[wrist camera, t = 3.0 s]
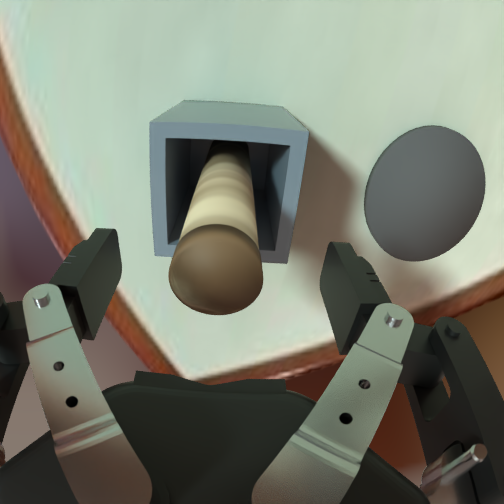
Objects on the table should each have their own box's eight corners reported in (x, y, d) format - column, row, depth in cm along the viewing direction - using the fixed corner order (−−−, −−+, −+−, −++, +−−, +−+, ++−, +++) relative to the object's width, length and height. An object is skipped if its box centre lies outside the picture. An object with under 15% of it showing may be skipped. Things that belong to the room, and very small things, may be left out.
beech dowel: (210, 130, 23) (166, 236, 9) (251, 133, 23) (268, 242, 10) (208, 169, 25) (171, 312, 11) (247, 171, 25) (258, 317, 11)
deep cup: (183, 100, 22) (149, 121, 14) (282, 106, 23) (309, 131, 14) (181, 190, 26) (154, 255, 18) (271, 195, 27) (287, 263, 18)
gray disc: (382, 109, 23) (386, 111, 22) (494, 145, 24) (499, 147, 23) (348, 253, 30) (350, 257, 30) (455, 260, 31) (458, 264, 31)
